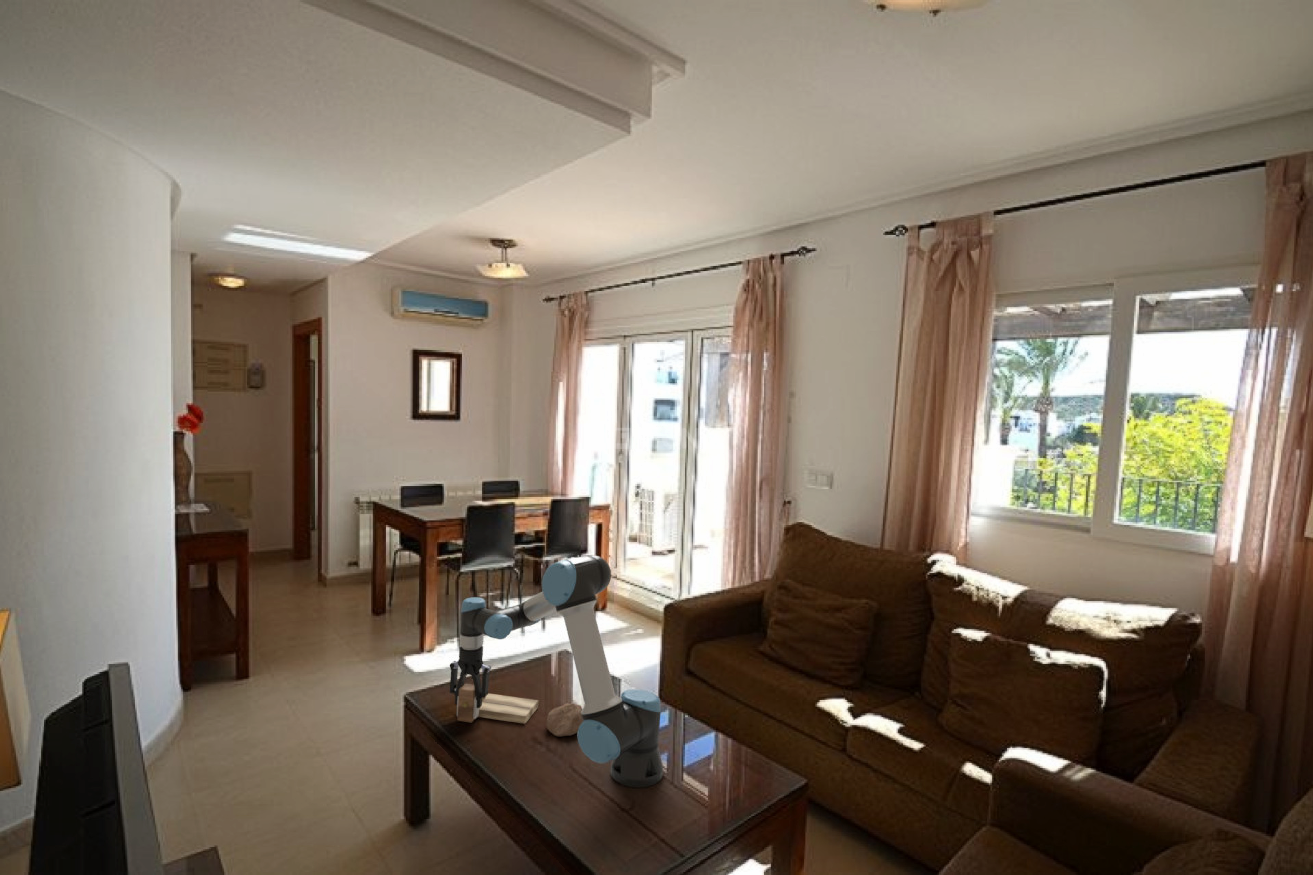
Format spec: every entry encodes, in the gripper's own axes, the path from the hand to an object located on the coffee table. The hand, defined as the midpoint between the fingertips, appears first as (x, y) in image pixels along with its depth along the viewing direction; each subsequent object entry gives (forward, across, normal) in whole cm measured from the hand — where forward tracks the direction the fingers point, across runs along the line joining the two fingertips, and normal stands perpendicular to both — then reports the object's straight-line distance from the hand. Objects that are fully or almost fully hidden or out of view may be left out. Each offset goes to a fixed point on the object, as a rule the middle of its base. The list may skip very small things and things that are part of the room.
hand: (467, 715), depth 207 cm
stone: (+2, -33, -2) cm, 33 cm away
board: (+1, -7, -8) cm, 11 cm away
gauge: (+1, 0, -5) cm, 5 cm away
